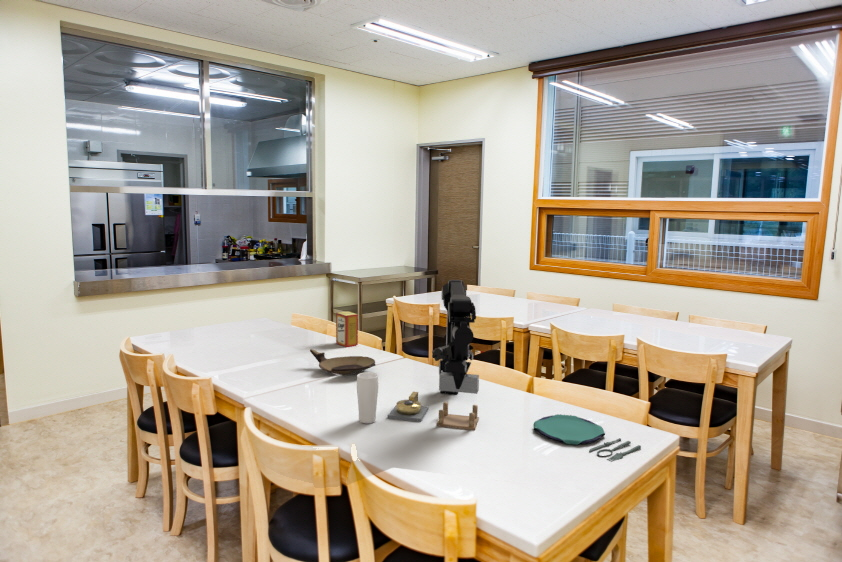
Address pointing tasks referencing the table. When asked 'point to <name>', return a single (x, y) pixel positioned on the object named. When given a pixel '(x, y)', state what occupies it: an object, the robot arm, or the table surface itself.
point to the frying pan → (343, 363)
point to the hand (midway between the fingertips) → (458, 387)
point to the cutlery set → (577, 432)
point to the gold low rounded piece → (409, 405)
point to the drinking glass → (367, 396)
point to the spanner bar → (467, 386)
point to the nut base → (413, 417)
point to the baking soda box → (346, 329)
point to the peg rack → (458, 419)
